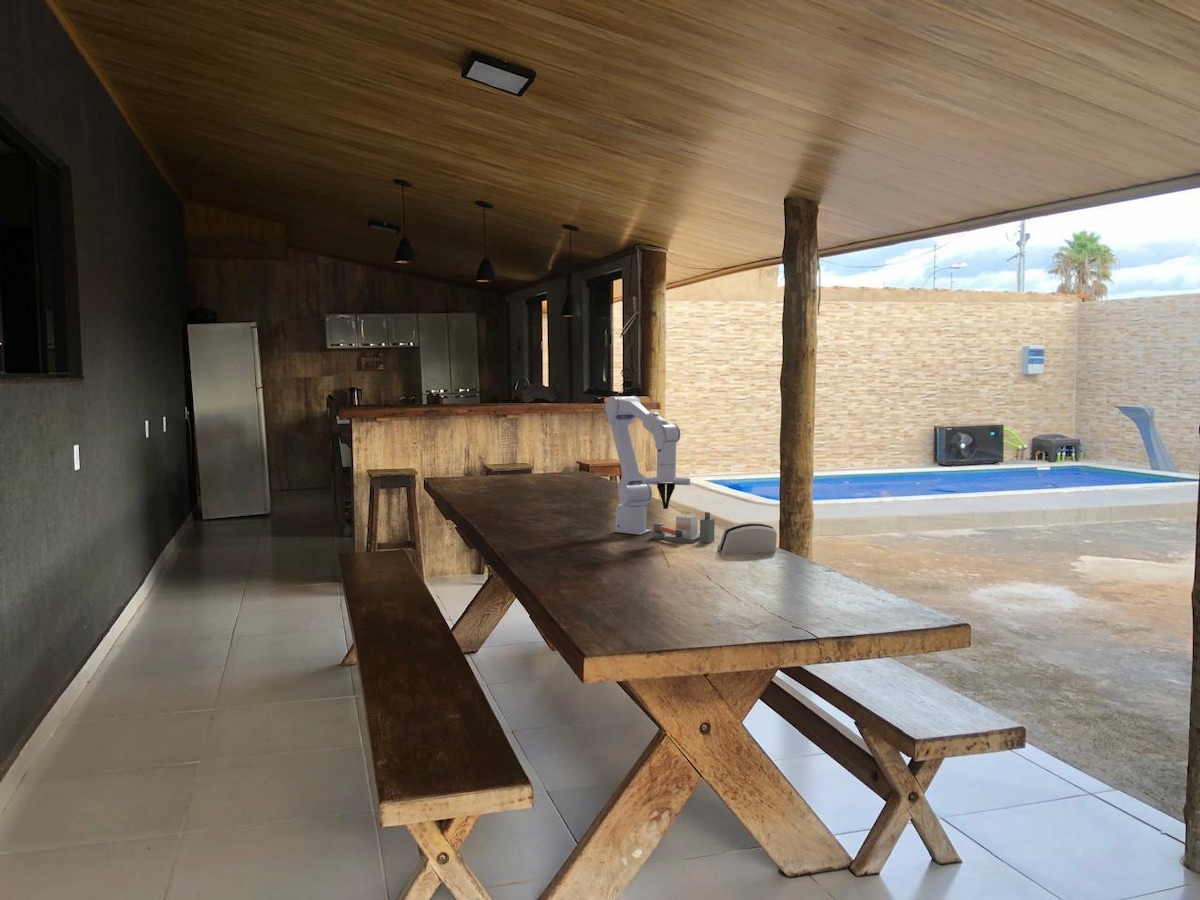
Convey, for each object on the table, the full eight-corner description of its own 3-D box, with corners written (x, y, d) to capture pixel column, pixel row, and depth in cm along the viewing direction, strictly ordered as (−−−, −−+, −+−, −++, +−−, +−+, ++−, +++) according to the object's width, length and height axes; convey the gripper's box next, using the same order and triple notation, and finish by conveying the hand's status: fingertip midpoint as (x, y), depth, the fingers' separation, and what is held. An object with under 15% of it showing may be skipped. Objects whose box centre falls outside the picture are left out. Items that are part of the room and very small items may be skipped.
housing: (675, 535, 287) (675, 516, 286) (682, 533, 291) (682, 514, 290) (690, 537, 284) (690, 517, 283) (697, 534, 288) (697, 515, 288)
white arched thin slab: (768, 548, 275) (774, 518, 271) (775, 556, 271) (781, 526, 267) (715, 550, 271) (721, 520, 267) (721, 559, 267) (727, 529, 262)
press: (649, 538, 288) (650, 509, 288) (663, 533, 297) (663, 505, 296) (704, 545, 279) (705, 515, 278) (717, 539, 287) (718, 510, 286)
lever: (676, 538, 278) (676, 530, 277) (651, 530, 290) (651, 523, 289) (685, 537, 279) (685, 529, 279) (660, 529, 291) (660, 522, 291)
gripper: (642, 465, 279) (641, 510, 280) (690, 465, 278) (690, 511, 280) (642, 462, 286) (641, 506, 287) (689, 463, 285) (689, 507, 287)
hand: (665, 508), depth 284 cm, fingers closed
